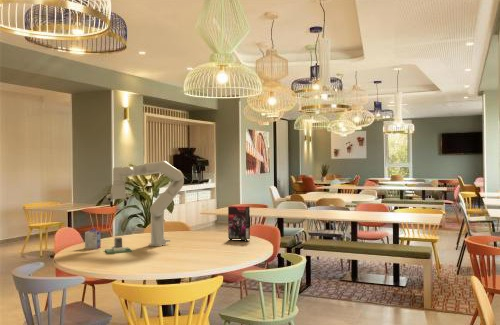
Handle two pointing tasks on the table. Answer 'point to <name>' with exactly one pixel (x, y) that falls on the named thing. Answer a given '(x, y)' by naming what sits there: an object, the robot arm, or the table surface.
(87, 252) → the table surface
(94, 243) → the ink cartridge box
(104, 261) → the table surface
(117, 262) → the table surface
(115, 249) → the circuit board
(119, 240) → the plug
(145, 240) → the table surface
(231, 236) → the graphics card box
